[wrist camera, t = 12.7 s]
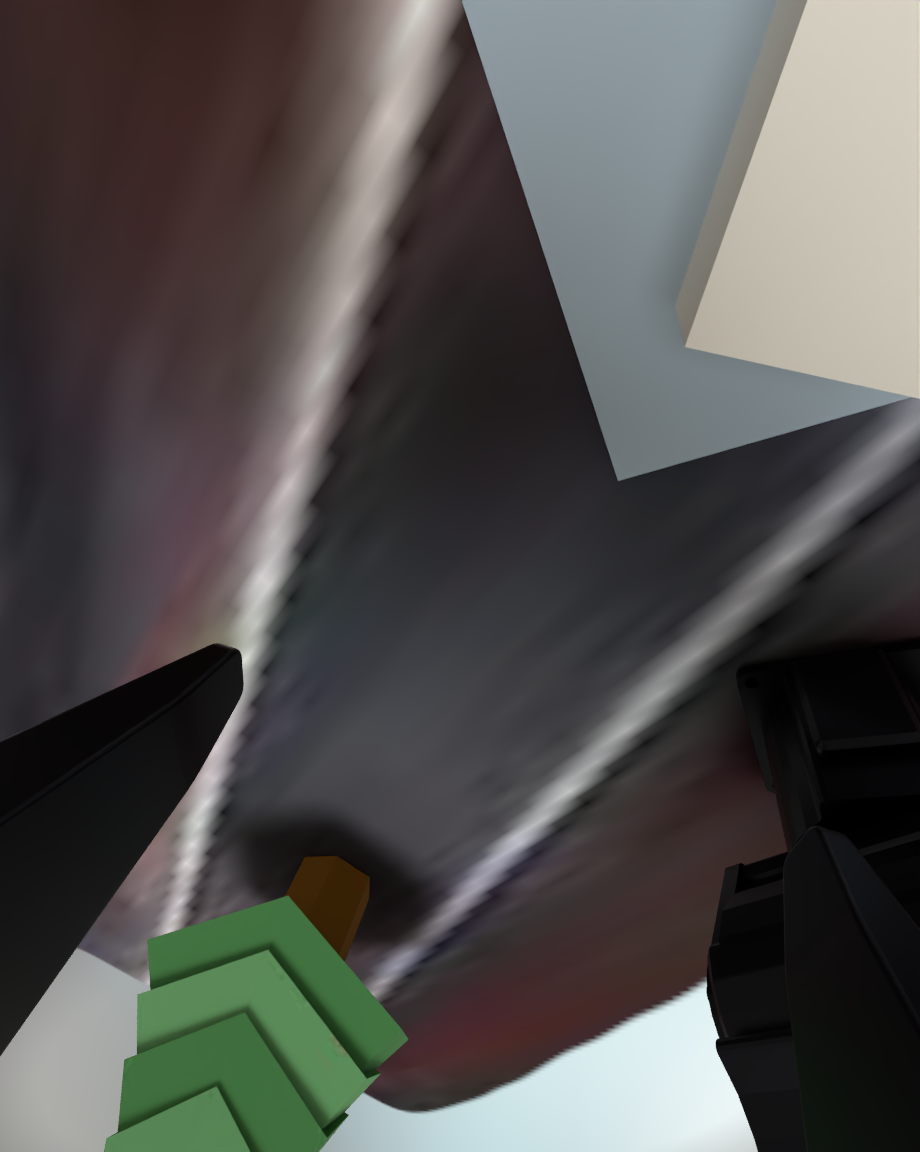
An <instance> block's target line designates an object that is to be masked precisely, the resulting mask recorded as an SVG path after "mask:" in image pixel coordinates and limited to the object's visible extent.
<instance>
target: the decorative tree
mask: <svg viewBox="0 0 920 1152" xmlns="http://www.w3.org/2000/svg"><path fill="white" fill-rule="evenodd" d="M369 884H370V877H368V876H367V875H365V874H364V873H362V872H361V871H359V870H357V869H356V868H354V867H353V866H351V865H350V864H348V863H347V862H345V861H344V860H342V859H341V858H339V857H338V856H320V857H305V858H304V860H303V862H302V863H301V865H300V867H299V869H298V871H297V873H296V875H295V877H294V879H293V881H292V883H291V885H290V887H289V889H288V891H287V893H286V895H285V897H282V898H279V899H276V900H273V901H269V902H266V903H263V904H260V905H257V906H254V907H250V908H247V909H244V910H241V911H238V912H235V913H231V914H228V915H225V916H222V917H219V918H215V919H212V920H209V921H206V922H203V923H200V924H196V925H193V926H190V927H187V928H184V929H180V930H177V931H174V932H171V933H168V934H165V935H161V936H158V937H155V938H152V939H149V940H147V943H148V958H149V972H150V987H151V990H150V991H147V992H144V993H141V994H138V1009H137V1013H138V1014H137V1055H135V1056H133V1057H130V1058H127V1059H125V1060H124V1070H123V1081H122V1093H121V1103H120V1115H119V1125H118V1132H117V1133H116V1134H114V1135H112V1136H110V1137H108V1138H107V1139H106V1144H105V1150H104V1152H319V1151H320V1150H321V1148H322V1147H323V1146H324V1145H325V1144H326V1142H327V1141H328V1140H329V1139H330V1137H331V1136H332V1135H333V1134H334V1133H335V1131H336V1130H337V1129H338V1127H339V1126H340V1125H341V1124H342V1123H343V1121H344V1120H345V1119H346V1118H347V1116H348V1114H346V1113H345V1111H346V1110H347V1109H348V1108H349V1107H350V1106H351V1104H352V1103H353V1102H354V1101H355V1100H356V1099H357V1098H358V1097H359V1096H360V1095H361V1094H362V1093H363V1092H364V1091H365V1090H366V1089H367V1087H368V1086H369V1085H370V1084H371V1083H372V1082H373V1081H374V1080H375V1079H376V1078H377V1077H378V1076H379V1075H380V1074H381V1073H380V1072H378V1071H376V1070H375V1069H377V1068H378V1067H379V1066H380V1065H381V1064H382V1063H383V1062H384V1061H385V1060H386V1059H388V1058H389V1057H390V1056H391V1055H392V1054H393V1053H394V1052H395V1051H396V1050H397V1049H398V1048H400V1047H401V1046H402V1045H403V1044H404V1043H405V1042H406V1041H407V1040H408V1038H407V1037H406V1035H405V1034H404V1032H403V1031H402V1029H401V1028H400V1027H399V1026H398V1024H397V1023H396V1022H395V1021H394V1020H393V1019H392V1017H391V1016H390V1015H389V1014H388V1013H387V1011H386V1010H385V1009H384V1008H383V1007H382V1006H381V1004H380V1003H379V1002H378V1001H377V1000H376V999H375V997H374V996H373V995H372V994H371V993H370V991H369V990H368V989H367V988H366V987H365V986H364V984H363V983H362V982H361V981H360V980H359V978H358V977H357V976H356V975H355V974H354V973H353V971H352V970H351V969H350V968H349V967H348V966H347V964H346V963H345V960H346V957H347V954H348V952H349V949H350V947H351V944H352V942H353V939H354V936H355V934H356V931H357V929H358V926H359V923H360V921H361V918H362V916H363V913H364V911H365V908H366V905H367V903H368V900H369Z"/></svg>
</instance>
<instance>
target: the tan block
mask: <svg viewBox="0 0 920 1152" xmlns="http://www.w3.org/2000/svg"><path fill="white" fill-rule="evenodd" d="M675 308H676V312H677V316H678V320H679V325H680V329H681V333H682V338H683V342H684V346H685V347H687V348H692V349H696V350H701V351H705V352H710V353H714V354H719V355H723V356H728V357H732V358H737V359H741V360H746V361H751V362H755V363H760V364H764V365H769V366H773V367H778V368H782V369H787V370H791V371H796V372H801V373H805V374H810V375H814V376H819V377H823V378H828V379H832V380H837V381H841V382H846V383H850V384H855V385H860V386H864V387H869V388H873V389H878V390H882V391H887V392H891V393H896V394H900V395H905V396H909V397H914V398H919V399H920V0H777V1H776V4H775V7H774V10H773V13H772V16H771V19H770V22H769V25H768V28H767V31H766V34H765V37H764V40H763V43H762V46H761V49H760V52H759V55H758V58H757V61H756V65H755V68H754V71H753V74H752V77H751V80H750V83H749V86H748V89H747V92H746V95H745V98H744V101H743V104H742V107H741V110H740V113H739V116H738V119H737V122H736V125H735V128H734V131H733V134H732V137H731V140H730V143H729V146H728V149H727V152H726V155H725V158H724V161H723V164H722V167H721V170H720V173H719V176H718V179H717V182H716V185H715V188H714V191H713V194H712V197H711V200H710V203H709V206H708V209H707V212H706V215H705V218H704V221H703V224H702V227H701V230H700V233H699V236H698V239H697V242H696V245H695V248H694V251H693V254H692V257H691V260H690V263H689V266H688V269H687V272H686V275H685V278H684V281H683V284H682V287H681V290H680V293H679V296H678V299H677V302H676V305H675Z"/></svg>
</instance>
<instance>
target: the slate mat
mask: <svg viewBox="0 0 920 1152" xmlns="http://www.w3.org/2000/svg"><path fill="white" fill-rule="evenodd" d="M776 1H777V0H462V3H463V6H464V9H465V12H466V15H467V18H468V21H469V24H470V27H471V30H472V33H473V37H474V40H475V43H476V46H477V49H478V52H479V55H480V58H481V61H482V64H483V67H484V70H485V73H486V77H487V80H488V83H489V86H490V89H491V92H492V95H493V98H494V101H495V104H496V107H497V110H498V113H499V116H500V120H501V123H502V126H503V129H504V132H505V135H506V138H507V141H508V144H509V147H510V150H511V153H512V156H513V160H514V163H515V166H516V169H517V172H518V175H519V178H520V181H521V184H522V187H523V190H524V193H525V196H526V199H527V203H528V206H529V209H530V212H531V215H532V218H533V221H534V224H535V227H536V230H537V233H538V236H539V239H540V243H541V246H542V249H543V252H544V255H545V258H546V261H547V264H548V267H549V270H550V273H551V276H552V279H553V283H554V286H555V289H556V292H557V295H558V298H559V301H560V304H561V307H562V310H563V313H564V316H565V319H566V322H567V326H568V329H569V332H570V335H571V338H572V341H573V344H574V347H575V350H576V353H577V356H578V359H579V362H580V366H581V369H582V372H583V375H584V378H585V381H586V384H587V387H588V390H589V393H590V396H591V399H592V402H593V405H594V409H595V412H596V415H597V418H598V421H599V424H600V427H601V430H602V433H603V436H604V439H605V442H606V445H607V449H608V452H609V455H610V458H611V461H612V464H613V467H614V470H615V473H616V476H617V479H618V481H620V480H624V479H627V478H631V477H634V476H638V475H641V474H645V473H648V472H652V471H655V470H659V469H662V468H666V467H669V466H673V465H676V464H680V463H683V462H687V461H690V460H694V459H697V458H701V457H704V456H708V455H711V454H715V453H718V452H722V451H725V450H729V449H732V448H736V447H739V446H743V445H746V444H750V443H753V442H757V441H760V440H764V439H767V438H771V437H774V436H778V435H781V434H785V433H788V432H792V431H795V430H799V429H802V428H806V427H809V426H813V425H816V424H820V423H823V422H827V421H830V420H834V419H837V418H841V417H844V416H848V415H851V414H855V413H858V412H862V411H865V410H869V409H872V408H876V407H879V406H883V405H886V404H890V403H893V402H897V401H900V400H904V399H907V398H911V397H909V396H905V395H900V394H896V393H891V392H887V391H882V390H878V389H873V388H869V387H864V386H860V385H855V384H850V383H846V382H841V381H837V380H832V379H828V378H823V377H819V376H814V375H810V374H805V373H801V372H796V371H791V370H787V369H782V368H778V367H773V366H769V365H764V364H760V363H755V362H751V361H746V360H741V359H737V358H732V357H728V356H723V355H719V354H714V353H710V352H705V351H701V350H696V349H692V348H687V347H685V346H684V342H683V338H682V333H681V329H680V325H679V320H678V316H677V312H676V308H675V305H676V302H677V299H678V296H679V293H680V290H681V287H682V284H683V281H684V278H685V275H686V272H687V269H688V266H689V263H690V260H691V257H692V254H693V251H694V248H695V245H696V242H697V239H698V236H699V233H700V230H701V227H702V224H703V221H704V218H705V215H706V212H707V209H708V206H709V203H710V200H711V197H712V194H713V191H714V188H715V185H716V182H717V179H718V176H719V173H720V170H721V167H722V164H723V161H724V158H725V155H726V152H727V149H728V146H729V143H730V140H731V137H732V134H733V131H734V128H735V125H736V122H737V119H738V116H739V113H740V110H741V107H742V104H743V101H744V98H745V95H746V92H747V89H748V86H749V83H750V80H751V77H752V74H753V71H754V68H755V65H756V61H757V58H758V55H759V52H760V49H761V46H762V43H763V40H764V37H765V34H766V31H767V28H768V25H769V22H770V19H771V16H772V13H773V10H774V7H775V4H776Z"/></svg>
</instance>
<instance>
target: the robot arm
mask: <svg viewBox="0 0 920 1152" xmlns="http://www.w3.org/2000/svg"><path fill="white" fill-rule="evenodd" d="M748 678H756V680H754V681H747V679H748ZM736 680H737V685H738V689H739V692H740V696H741V700H742V703H743V707H744V710H745V714H746V718H747V721H748V725H749V728H750V732H751V736H752V739H753V743H754V746H755V750H756V754H757V757H758V761H759V764H760V768H761V771H762V775H763V779H764V782H765V786H766V788H767V790H769V791H770V792H772V793H775V794H776V799H777V804H778V808H779V813H780V818H781V822H782V827H783V832H784V837H785V841H786V846H787V851H788V852H785V853H782V854H779V855H775V856H772V857H769V858H766V859H763V860H760V861H757V862H754V863H750V864H747V865H744V864H742V863H740V864H737V865H734V866H730V867H727V868H726V869H725V874H724V879H723V884H722V890H721V895H720V900H719V906H718V911H717V917H716V922H715V927H714V933H713V938H712V943H711V946H710V948H709V952H708V958H707V959H708V967H707V997H708V1000H709V1003H710V1008H711V1012H712V1017H713V1020H714V1023H715V1026H716V1029H717V1033H718V1036H719V1039H717V1040H716V1049H717V1052H718V1055H719V1057H720V1059H721V1061H722V1063H723V1065H724V1067H725V1069H726V1071H727V1073H728V1075H729V1077H730V1079H731V1081H732V1083H733V1085H734V1087H735V1089H736V1091H737V1093H738V1095H739V1098H740V1101H741V1104H742V1106H743V1109H744V1112H745V1114H746V1117H747V1120H748V1123H749V1126H750V1128H751V1131H752V1133H753V1136H754V1139H755V1142H756V1146H757V1150H758V1152H920V640H918V641H912V642H905V643H898V644H891V645H884V646H878V647H871V648H864V649H857V650H851V651H844V652H837V653H830V654H823V655H817V656H810V657H803V658H796V659H790V660H783V661H776V662H769V663H763V664H756V665H749V666H745V667H742V668H741V669H739V670H738V672H737V673H736ZM243 684H244V683H243V669H242V657H241V653H240V651H239V650H237V649H236V648H232V647H229V646H226V645H223V644H218V643H216V644H212V645H209V646H207V647H205V648H203V649H200V650H198V651H196V652H194V653H192V654H189V655H187V656H185V657H183V658H181V659H179V660H176V661H174V662H172V663H170V664H168V665H165V666H163V667H161V668H159V669H157V670H155V671H152V672H150V673H148V674H146V675H144V676H141V677H139V678H137V679H135V680H133V681H131V682H128V683H126V684H124V685H122V686H120V687H117V688H115V689H113V690H111V691H109V692H107V693H104V694H102V695H100V696H98V697H96V698H93V699H91V700H89V701H87V702H85V703H83V704H80V705H78V706H76V707H74V708H72V709H69V710H67V711H65V712H63V713H61V714H59V715H56V716H54V717H52V718H50V719H48V720H45V721H43V722H41V723H39V724H37V725H35V726H32V727H30V728H28V729H26V730H24V731H21V732H19V733H17V734H15V735H13V736H11V737H8V738H6V739H4V740H2V741H0V1056H1V1055H2V1053H3V1052H4V1050H5V1049H6V1047H7V1046H8V1044H9V1043H10V1042H11V1040H12V1039H13V1038H14V1036H15V1035H16V1033H17V1032H18V1030H19V1029H20V1028H21V1026H22V1025H23V1023H24V1022H25V1020H26V1019H27V1018H28V1016H29V1015H30V1013H31V1012H32V1011H33V1009H34V1008H35V1006H36V1005H37V1003H38V1002H39V1001H40V999H41V998H42V996H43V995H44V994H45V992H46V991H47V989H48V988H49V986H50V985H51V984H52V982H53V981H54V979H55V978H56V976H57V975H58V973H59V972H60V971H61V969H62V968H63V967H64V965H65V964H66V962H67V961H68V959H69V958H70V957H71V955H72V954H73V952H74V951H75V949H76V948H77V947H78V945H79V944H80V942H81V941H82V940H83V938H84V937H85V935H86V934H87V932H88V931H89V930H90V928H91V927H92V925H93V924H94V923H95V921H96V920H97V918H98V917H99V915H100V914H101V913H102V911H103V910H104V908H105V907H106V906H107V904H108V903H109V901H110V900H111V898H112V897H113V896H114V894H115V893H116V891H117V890H118V888H119V887H120V886H121V884H122V883H123V881H124V880H125V879H126V877H127V876H128V874H129V873H130V871H131V870H132V869H133V867H134V866H135V864H136V863H137V861H138V860H139V859H140V857H141V856H142V854H143V853H144V852H145V850H146V849H147V847H148V846H149V844H150V843H151V842H152V840H153V839H154V837H155V836H156V835H157V833H158V832H159V830H160V829H161V827H162V826H163V825H164V823H165V822H166V820H167V819H168V817H169V816H170V815H171V813H172V812H173V810H174V809H175V808H176V806H177V805H178V803H179V802H180V800H181V799H182V798H183V796H184V795H185V793H186V792H187V790H188V789H189V787H190V786H191V784H192V783H193V781H194V780H195V778H196V777H197V775H198V773H199V771H200V770H201V768H202V766H203V765H204V763H205V761H206V759H207V757H208V756H209V754H210V752H211V750H212V748H213V747H214V745H215V743H216V741H217V739H218V738H219V736H220V734H221V732H222V730H223V729H224V727H225V725H226V723H227V721H228V720H229V718H230V716H231V714H232V712H233V711H234V709H235V707H236V705H237V703H238V701H239V700H240V697H241V695H242V692H243Z"/></svg>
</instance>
